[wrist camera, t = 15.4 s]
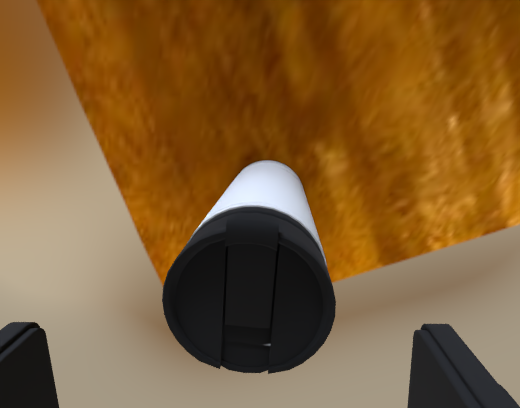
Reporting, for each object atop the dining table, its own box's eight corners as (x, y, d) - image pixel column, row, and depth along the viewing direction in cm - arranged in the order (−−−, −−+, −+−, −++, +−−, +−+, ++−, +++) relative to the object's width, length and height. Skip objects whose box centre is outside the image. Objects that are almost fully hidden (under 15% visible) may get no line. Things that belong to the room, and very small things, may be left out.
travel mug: (307, 158, 31) (353, 227, 11) (300, 233, 32) (328, 405, 13) (233, 152, 31) (154, 210, 12) (229, 227, 33) (154, 388, 13)
